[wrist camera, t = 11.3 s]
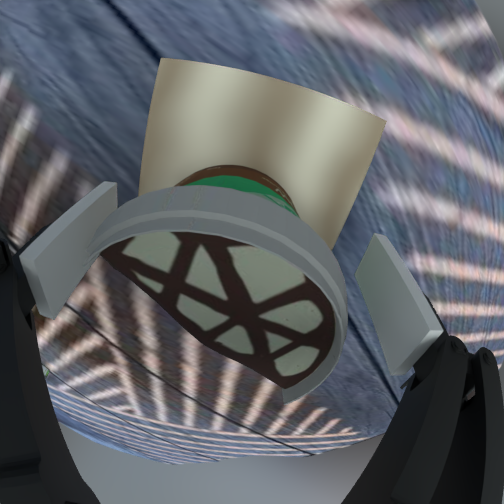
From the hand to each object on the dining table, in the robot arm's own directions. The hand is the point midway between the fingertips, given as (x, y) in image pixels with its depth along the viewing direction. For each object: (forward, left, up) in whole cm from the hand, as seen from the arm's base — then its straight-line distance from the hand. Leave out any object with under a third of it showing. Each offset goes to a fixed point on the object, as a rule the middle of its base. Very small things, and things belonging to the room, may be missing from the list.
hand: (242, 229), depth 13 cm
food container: (+1, -1, -5) cm, 5 cm away
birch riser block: (0, 0, -10) cm, 10 cm away
